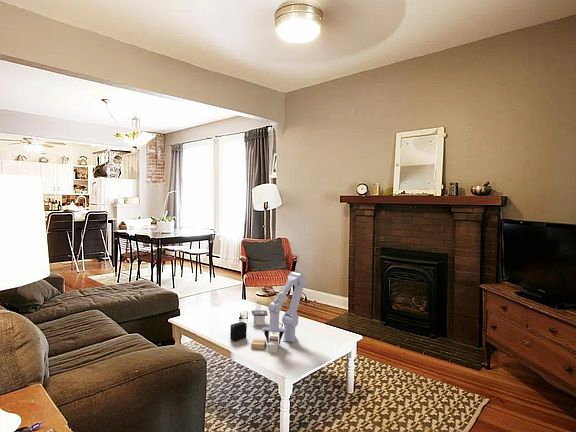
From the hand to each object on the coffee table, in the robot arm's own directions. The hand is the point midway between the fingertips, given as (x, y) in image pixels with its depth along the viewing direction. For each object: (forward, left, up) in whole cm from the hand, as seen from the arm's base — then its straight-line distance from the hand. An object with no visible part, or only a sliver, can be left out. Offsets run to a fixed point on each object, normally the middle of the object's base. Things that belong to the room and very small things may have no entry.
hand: (273, 343), depth 228 cm
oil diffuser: (-37, -16, -2) cm, 40 cm away
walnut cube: (0, 0, -2) cm, 2 cm away
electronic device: (-6, -24, -2) cm, 25 cm away
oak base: (+3, -9, -1) cm, 10 cm away
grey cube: (+8, +1, -2) cm, 8 cm away
